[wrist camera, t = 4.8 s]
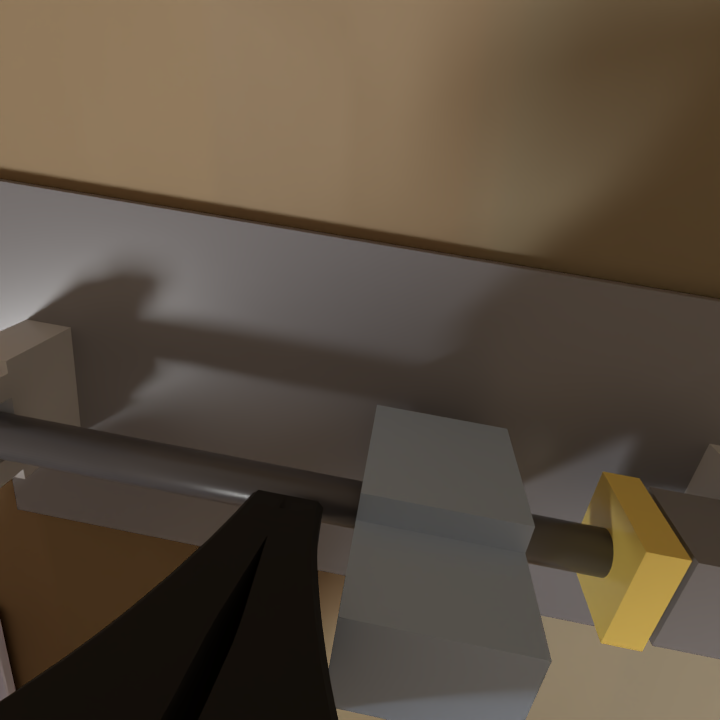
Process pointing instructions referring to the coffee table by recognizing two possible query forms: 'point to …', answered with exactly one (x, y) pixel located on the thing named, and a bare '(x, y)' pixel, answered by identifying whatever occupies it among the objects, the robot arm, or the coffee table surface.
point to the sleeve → (439, 578)
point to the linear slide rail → (358, 392)
